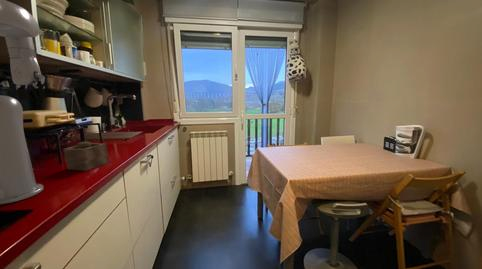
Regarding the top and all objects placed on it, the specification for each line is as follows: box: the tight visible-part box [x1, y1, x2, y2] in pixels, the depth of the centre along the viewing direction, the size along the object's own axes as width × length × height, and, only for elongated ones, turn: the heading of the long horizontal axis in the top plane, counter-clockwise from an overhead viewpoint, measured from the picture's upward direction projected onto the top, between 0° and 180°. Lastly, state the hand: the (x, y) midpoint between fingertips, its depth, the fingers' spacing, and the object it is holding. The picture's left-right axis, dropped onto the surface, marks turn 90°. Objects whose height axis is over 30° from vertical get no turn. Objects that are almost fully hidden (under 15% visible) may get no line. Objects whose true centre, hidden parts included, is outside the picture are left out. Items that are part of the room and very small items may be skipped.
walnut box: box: [62, 142, 110, 172], centre depth 96 cm, size 11×11×9 cm
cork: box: [76, 141, 92, 149], centre depth 95 cm, size 6×6×11 cm
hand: (32, 99), depth 87 cm, fingers open, 9 cm apart
